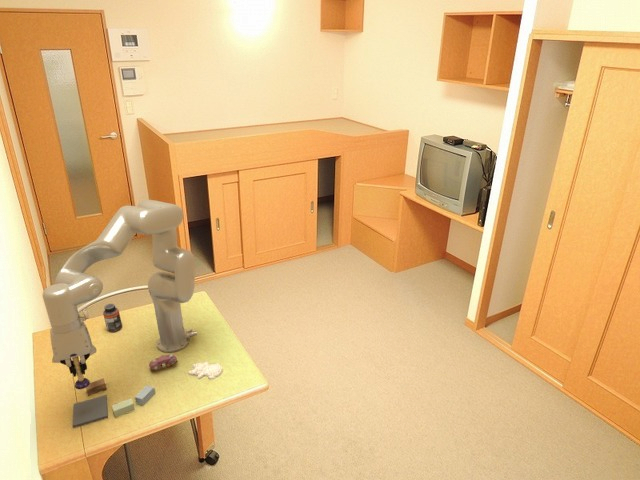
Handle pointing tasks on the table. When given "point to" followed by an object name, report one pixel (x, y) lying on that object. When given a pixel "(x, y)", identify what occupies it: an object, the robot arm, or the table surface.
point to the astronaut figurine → (206, 370)
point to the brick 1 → (96, 387)
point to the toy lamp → (79, 374)
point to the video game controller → (163, 361)
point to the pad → (90, 411)
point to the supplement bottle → (112, 318)
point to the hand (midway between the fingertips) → (79, 372)
